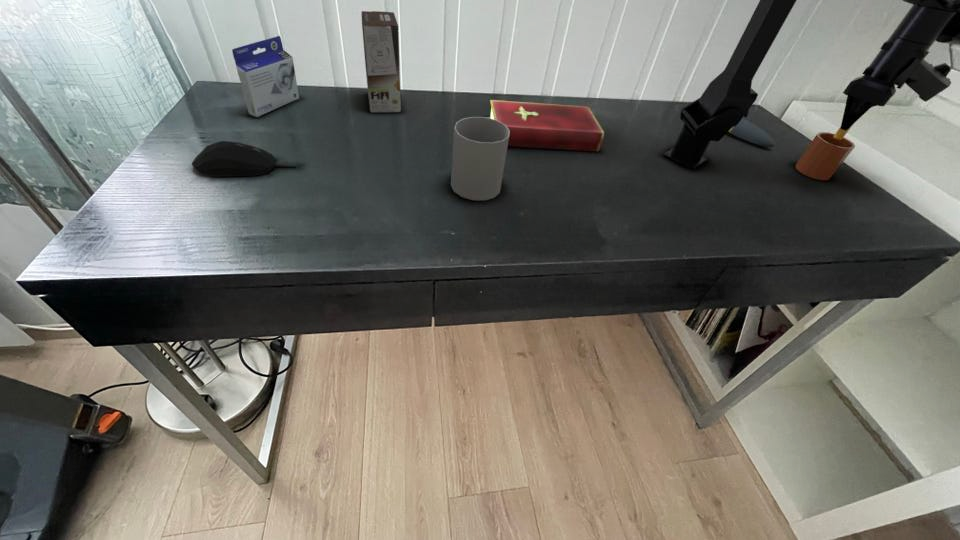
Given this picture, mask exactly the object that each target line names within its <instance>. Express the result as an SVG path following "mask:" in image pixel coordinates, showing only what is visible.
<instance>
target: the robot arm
mask: <svg viewBox="0 0 960 540" xmlns="http://www.w3.org/2000/svg"><path fill="white" fill-rule="evenodd" d="M796 2H797V0H759V1H758V4H757V6H756V7H755V9H754V11H753V13H752V15H751V17H750V18H749V21H748V23H747V25H746V27H745V29H744V31H743V33H742V34H741V37H740V38H739V41H738V43H737V45H736V47H735V49H734V51H733V52H732V55H731V57H730V58H729V61H728V63H727V64H726V65H725V68H724V69H723V70H722V72H720V73H719V74H718V75H717V76H716V77H715V78H714V79H712V80H711V81H710V83H709V84H708V85H707V86H706V88H705V90H704V91H703V93H702V94H701V96H700V97H699V98H697V99H696V100H694V101H692V102H690V103H688V104H687V105H685V106H684V107H682V108H681V109H680V115H679V119H680V121H682V122H683V126H682V128H681V130H680V133H679V135H678V136H677V138H676V141H675V143H674V145H673V148H670V149H669V150H668V151H665V152H664V153H663V157H665V158H666V159H669V160H671V161H672V162H675V163H677V164H679V165H681V166H683V167H684V168H686V169H689V170H695V169H697V168H698V167H699V166H701V165H703V164H704V163H705V162H706V161H707V160H708V158H707V157H705V156H704V154H705V153H706V150H707V149H708V147H709V145H710V143H711V142H719V141H721V140H722V139H723V138H724V137H725V135H726V134H727V133H729V132H728V131H729V130H730V129H731V128H732V127H733V126H736V125H737V124H738V123H739V122H740V121H741V119H744V118H747V117H748V114H749V111H750V109H751V107H752V106H753V104H754V103H755V102H756V100H757V99H758V96H759V93H758V92H756V91H755V90H754V89H753V88H752V85H753V80H754V78H755V76H756V74H757V72H758V71H759V68H760V67H761V65H762V63H763V62H764V60H765V58H766V57H767V54H768V52H769V51H770V49H771V47H772V46H773V43H774V42H775V40H776V38H777V36H778V35H779V33H780V31H781V29H782V28H783V26H784V24H785V22H786V20H787V19H788V17H789V15H790V13H791V12H792V10H793V8H794V7H795V4H796ZM902 2H905V3H907V4H911V7H910V9H909V10H908V11H907V13H906V14H905V15H904V16H903V18H902V19H901V21H900V22H899V24H898V25H897V26H896V28H895V29H894V31H893V32H892V33H891V35H889V37H888V38H887V40H885V42H884V43H883V44H882V45H881V47H880V48H879V49H880V50H879V51H878V53H877V54H876V55H875V57H874V58H873V60H872V61H871V62H870V64H869V66H867V67H866V68H865V69H864V70H863V72H862V75H861V76H857V77H855V78H854V79H852V80H851V81H850V82H849V83H848V85H847V86H846V87H845V89H844V90H843V92H842V94H843V95H845V96H846V101H845V106H844V112H843V115H842V119H841V124H840V126H839V128H841V129H843V130H848V129H849V128H850V127H851V126H852V127H853V125H854V124H855V123H856V122H858V121H859V120H860V119H861V118H862V117H863V116H864V115H865V114H866V113H867V112H868V111H869V110H870V109H871V108H873V107H885V106H886V105H887V104H888V102H889V101H890V100H891V99H892V98H893V97H894V96H895V95H896V93H897V89H902V88H903V87H904V85H905V84H906V86H907V87H908V88H910V89H911V90H912V91H913V92H915V94H917V95H918V98H919V99H920V100H922V101H923V102H928V101H930V100H931V99H933V98H934V97H936V96H937V95H939V94H940V93H941V92H943V91H946V89H948V88H950V86H951V84H952V81H951V78H949V77H948V75H949V74H950V72H951V71H952V69H953V67H951V66H950V65H949V64H948V63H946V62H943V63H940V64H937V65H934V64H932V63H930V62H928V61H926V59H925V58H926V57H927V56H928V55H929V53H930V51H929V50H930V48H932V45H934V43H935V42H937V43H940V44H941V43H942V44H947V45H956V46H960V0H902ZM705 120H706V121H705ZM852 127H851V128H852ZM851 128H850V129H851ZM850 129H849V130H850Z"/></svg>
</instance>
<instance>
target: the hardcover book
mask: <svg viewBox="0 0 960 540" xmlns="http://www.w3.org/2000/svg"><path fill="white" fill-rule="evenodd" d="M489 103H490V107H491V108H490V116H487V118H490V119H494V120H497V121H499V122H501V123H503V124H505V125H506V126H507V128H508V129H509V130H510V134H509V141H508V147H513V148H530V149H531V148H534V149H549V150H550V149H551V150H552V149H553V150H567V151H585V152H599V151H600V149H601V147H602V144H603V141H604V137H605V131H604V129H603V128H602V127H601V125H600V123H599V122H598V120H597V118H596V117H595V114H594V113H593V112H592V109H591V108H590V106H585V105H584V106H583V105H570V104H569V105H568V104H556V103H555V104H554V103H540V102H529V101H527V102H526V101H512V100H498V99H497V100H496V99H490V101H489Z"/></svg>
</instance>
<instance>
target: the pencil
mask: <svg viewBox="0 0 960 540" xmlns="http://www.w3.org/2000/svg"><path fill="white" fill-rule="evenodd" d="M852 127H853V125H852V126H851V127H850V128H849V129H848V130H843V129H841V128H840V127H839V128H838V129H837V130H836V132H835V133H834V134H835V135H834V136H833V137H834V138H835V139H838V140H842V139H843V137H844V138H845V136H846V135H847V133H848V132H849V131H850V130H851V128H852Z"/></svg>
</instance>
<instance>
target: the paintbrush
mask: <svg viewBox="0 0 960 540" xmlns="http://www.w3.org/2000/svg"><path fill="white" fill-rule="evenodd" d="M705 121H706V120H705ZM727 133H729V134H731V135H732V136H735V137H737V138H738V139H740V140H743V141H745V142H748V143H751V144H755V145H756V146H761V147H766V148H771V147H772V148H773V147H774V146H775V145H776V142H775V141H774V139H773V138H772V137H771V135H769V134H768V133H767V132H766V131H764V130H763V129H762V128H760V127H758V126H757V125H756V124H753V123H752V122H751V121H749V120H746V119H745V118H742V119H741V121H740V122H739V123H738V124H737V125H736V126H733V127H732V128H731V129H730V130H729V131H728V132H727Z"/></svg>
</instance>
